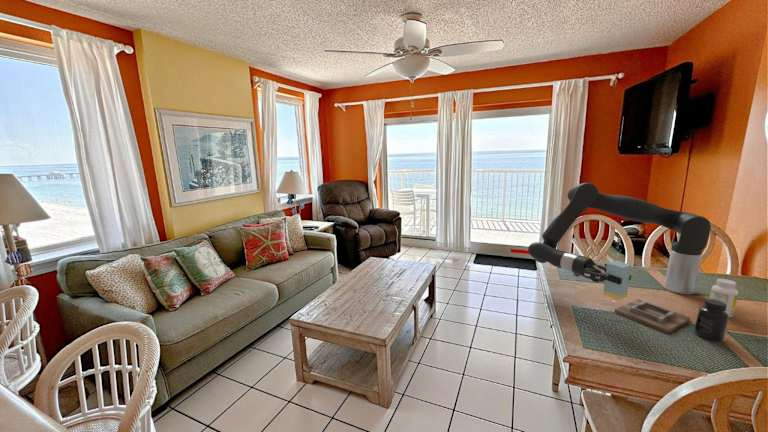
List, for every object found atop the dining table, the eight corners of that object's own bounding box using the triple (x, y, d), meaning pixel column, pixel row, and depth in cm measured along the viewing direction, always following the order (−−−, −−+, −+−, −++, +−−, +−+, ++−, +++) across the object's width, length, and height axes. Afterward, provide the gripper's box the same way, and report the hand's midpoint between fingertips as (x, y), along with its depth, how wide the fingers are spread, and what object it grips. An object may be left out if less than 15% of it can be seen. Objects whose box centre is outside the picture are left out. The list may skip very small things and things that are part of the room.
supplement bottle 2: (730, 343, 97) (738, 308, 94) (704, 341, 98) (711, 307, 95) (712, 330, 103) (719, 298, 101) (688, 328, 105) (694, 296, 102)
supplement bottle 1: (725, 310, 115) (732, 278, 113) (738, 319, 109) (746, 285, 106) (702, 307, 117) (709, 276, 115) (713, 316, 111) (721, 283, 109)
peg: (611, 291, 113) (615, 260, 110) (626, 296, 108) (631, 264, 106) (603, 294, 111) (607, 263, 108) (618, 300, 106) (623, 267, 104)
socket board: (637, 301, 123) (638, 295, 123) (690, 320, 109) (691, 314, 108) (614, 311, 116) (615, 305, 116) (667, 333, 102) (668, 326, 102)
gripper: (565, 258, 117) (615, 274, 102) (589, 252, 123) (638, 265, 108) (564, 277, 118) (612, 294, 103) (587, 269, 124) (635, 285, 109)
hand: (625, 279), depth 106 cm, fingers closed on peg, 5 cm apart
